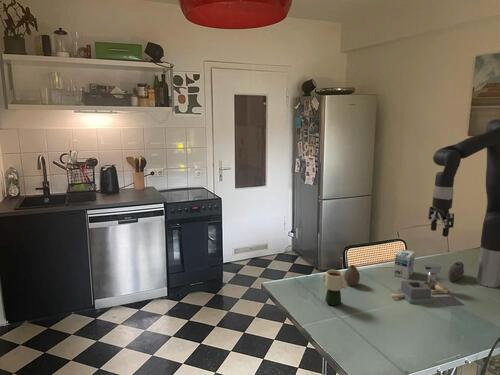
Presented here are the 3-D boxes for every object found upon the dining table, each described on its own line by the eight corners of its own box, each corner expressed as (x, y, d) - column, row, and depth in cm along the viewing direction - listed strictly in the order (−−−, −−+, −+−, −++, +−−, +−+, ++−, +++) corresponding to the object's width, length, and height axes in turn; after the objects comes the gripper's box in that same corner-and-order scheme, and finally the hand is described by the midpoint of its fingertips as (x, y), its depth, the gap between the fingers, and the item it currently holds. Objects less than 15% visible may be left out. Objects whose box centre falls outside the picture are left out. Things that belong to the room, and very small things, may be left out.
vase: (357, 281, 172) (359, 263, 171) (360, 287, 165) (362, 269, 164) (342, 280, 173) (343, 262, 171) (344, 287, 166) (346, 268, 164)
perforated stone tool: (455, 285, 170) (456, 271, 169) (443, 281, 173) (444, 267, 172) (465, 276, 180) (467, 262, 179) (453, 273, 184) (455, 259, 183)
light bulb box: (407, 279, 175) (409, 257, 174) (393, 275, 179) (395, 254, 178) (413, 272, 184) (415, 251, 182) (399, 268, 188) (401, 248, 186)
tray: (436, 284, 170) (436, 281, 169) (448, 293, 161) (448, 289, 161) (417, 285, 169) (417, 281, 169) (428, 294, 160) (429, 290, 160)
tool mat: (452, 297, 158) (452, 296, 158) (465, 306, 150) (465, 305, 150) (434, 297, 157) (434, 296, 157) (446, 306, 149) (446, 305, 149)
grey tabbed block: (421, 286, 166) (423, 263, 165) (435, 285, 167) (437, 262, 165) (426, 290, 162) (428, 266, 160) (440, 290, 163) (443, 266, 161)
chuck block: (419, 292, 162) (420, 279, 161) (432, 303, 152) (434, 289, 151) (386, 293, 160) (387, 280, 159) (397, 304, 151) (398, 290, 150)
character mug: (349, 304, 150) (351, 274, 148) (340, 310, 145) (342, 279, 143) (326, 295, 157) (328, 266, 155) (316, 301, 152) (318, 271, 150)
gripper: (425, 193, 164) (421, 228, 167) (444, 200, 150) (440, 238, 153) (441, 193, 165) (437, 228, 167) (462, 199, 151) (457, 238, 153)
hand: (439, 233), depth 160 cm, fingers open, 8 cm apart
